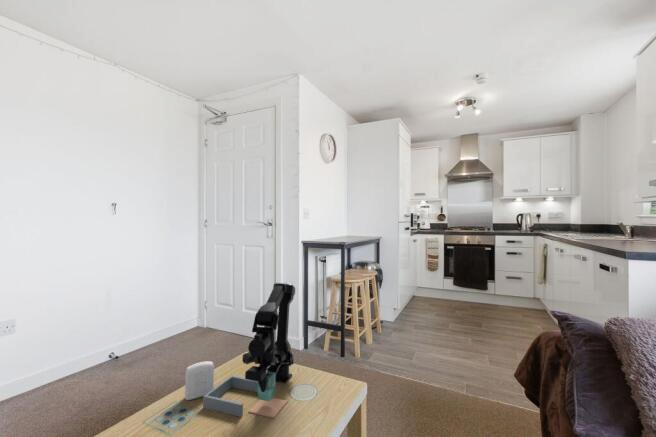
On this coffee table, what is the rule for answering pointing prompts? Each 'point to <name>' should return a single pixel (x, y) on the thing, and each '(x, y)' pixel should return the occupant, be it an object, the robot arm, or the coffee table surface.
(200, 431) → the coffee table surface
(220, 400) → the open-front gray frame
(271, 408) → the terracotta mat
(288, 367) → the robot arm
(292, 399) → the coffee table surface
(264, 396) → the teal block
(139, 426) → the coffee table surface
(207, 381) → the photo printer
